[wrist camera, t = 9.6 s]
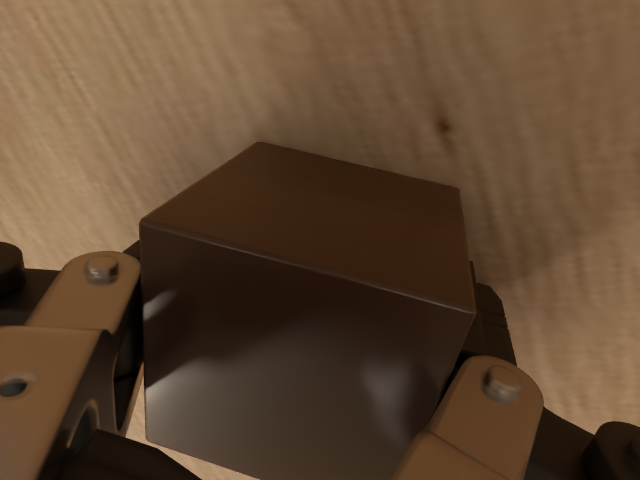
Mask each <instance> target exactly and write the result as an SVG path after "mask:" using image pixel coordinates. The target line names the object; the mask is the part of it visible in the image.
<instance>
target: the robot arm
mask: <svg viewBox="0 0 640 480" xmlns="http://www.w3.org/2000/svg"><path fill="white" fill-rule="evenodd" d="M469 262H470V269H471V276H472V283H473V290H474V297H475V305H476V315H475V317H474V320H473V322H472V325H471V327H470V329H469V332H468V334H467V337H466V339H465V342H464V344H463V346H462V349H461V351H460V354H459V356H458V358H457V361H456V363H455V366H454V368H453V370H452V373H451V375H450V378H449V380H448V383H447V385H446V387H445V390H444V392H443V395H442V397H441V399H440V402H439V404H438V407H437V409H436V411H435V413H434V414H433V416H432V418H431V420H430V421H429V423H428V425H427V426H426V428H425V427H424V426H423V427H422V428H421V429H420V430H419V432H418V433H417V435H416V437H415V438H414V440H413V442H412V443H411V445H410V447H409V448H408V450H407V452H406V453H405V455H404V457H403V459H402V460H401V462H400V464H399V465H398V467H397V469H396V470H395V472H394V474H393V475H392V477H391V479H390V480H640V427H638V426H635V425H632V424H629V423H625V422H617V421H612V422H607V423H604V424H603V425H601V426H600V427H599V429H598V430H597V432H596V433H595V435H593V434H591V433H589V432H587V431H585V430H583V429H582V428H580V427H578V426H576V425H574V424H572V423H570V422H568V421H566V420H564V419H562V418H561V417H559V416H557V415H555V414H554V413H552V412H551V411H549V410H548V409H546V408H545V407H544V406H543V405H544V399H543V395H542V393H541V390H540V389H539V387H538V385H537V384H536V383H535V382H534V380H533V379H532V378H531V377H530V376H529V375H527V374H526V373H525V372H524V371H523V370H521V369H520V368H518V367H517V363H516V359H515V355H514V351H513V347H512V342H511V338H510V334H509V330H508V329H507V327H508V326H507V321H506V317H504V316H505V313H504V309H503V304H502V300H501V299H500V298H499V297H498V296H497V294H496V293H495V292H494V291H493V289H492V288H491V287H490V286H487V285H484V284H480V283H476V279H475V273H474V266H473V262H472V261H470V260H469ZM143 375H144V365H143V334H142V302H141V270H140V240H138V241H137V242H135V243H134V244H133V245H131V246H130V247H129V248H127V249H126V250H124V251H123V252H122V253H121V252H115V251H99V252H92V253H87V254H84V255H81V256H78V257H76V258H74V259H72V260H70V261H69V262H68V263H67V264H66V265H65V266H64V267H63V268H62V270H61V271H57V270H42V269H28V268H25V267H24V262H23V256H22V252H21V250H20V249H19V248H18V247H16V246H15V245H12V244H9V243H5V242H0V480H202V479H200V478H199V477H198V476H196V475H195V474H193V473H192V472H190V471H189V470H188V469H186V468H185V467H183V466H182V465H180V464H179V463H178V462H176V461H175V460H173V459H172V458H170V457H169V456H167V455H166V454H165V453H163V452H162V451H160V450H159V449H157V448H154V447H152V446H149V445H146V444H143V443H140V442H137V441H134V440H131V439H128V438H125V437H126V434H127V430H128V427H129V423H130V420H131V416H132V413H133V410H134V406H135V403H136V399H137V396H138V392H139V389H140V385H141V382H142V379H143Z"/></svg>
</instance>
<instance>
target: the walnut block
mask: <svg viewBox="0 0 640 480" xmlns="http://www.w3.org/2000/svg"><path fill="white" fill-rule="evenodd" d="M139 238H140V270H141V302H142V334H143V365H144V397H145V429H146V440H147V441H149V442H151V443H154V444H157V445H160V446H163V447H166V448H169V449H172V450H175V451H177V452H180V453H183V454H186V455H189V456H192V457H195V458H198V459H201V460H204V461H207V462H210V463H213V464H216V465H219V466H222V467H225V468H228V469H231V470H234V471H236V472H239V473H242V474H245V475H248V476H251V477H254V478H257V479H260V480H390V479H391V477H392V475H393V474H394V472H395V470H396V469H397V467H398V465H399V464H400V462H401V460H402V459H403V457H404V455H405V453H406V452H407V450H408V448H409V447H410V445H411V443H412V442H413V440H414V438H415V437H416V435H417V433H418V432H419V430H420V429H421V428H422V427H423V426H424V427H425V428H426V426H427V425H428V423H429V421H430V420H431V418H432V416H433V414H434V413H435V411H436V409H437V407H438V404H439V402H440V399H441V397H442V395H443V392H444V390H445V387H446V385H447V383H448V380H449V378H450V375H451V373H452V370H453V368H454V366H455V363H456V361H457V358H458V356H459V354H460V351H461V349H462V346H463V344H464V342H465V339H466V337H467V334H468V332H469V329H470V327H471V325H472V322H473V320H474V317H475V315H476V305H475V297H474V290H473V283H472V276H471V269H470V262H469V255H468V248H467V241H466V233H465V226H464V219H463V212H462V205H461V198H460V191H459V190H458V189H457V188H453V187H449V186H445V185H440V184H436V183H432V182H428V181H423V180H419V179H415V178H411V177H406V176H402V175H398V174H393V173H389V172H385V171H381V170H376V169H372V168H368V167H364V166H359V165H355V164H351V163H347V162H342V161H338V160H334V159H330V158H325V157H321V156H317V155H312V154H308V153H304V152H300V151H295V150H291V149H287V148H283V147H278V146H274V145H270V144H266V143H261V142H256V143H255V144H253V145H252V146H250V147H249V148H247V149H246V150H244V151H243V152H241V153H240V154H238V155H237V156H235V157H234V158H232V159H231V160H229V161H228V162H226V163H225V164H223V165H222V166H220V167H219V168H217V169H216V170H214V171H213V172H211V173H210V174H208V175H206V176H205V177H203V178H202V179H200V180H199V181H197V182H196V183H194V184H193V185H191V186H190V187H188V188H187V189H185V190H184V191H182V192H181V193H179V194H178V195H176V196H175V197H173V198H172V199H170V200H169V201H167V202H166V203H164V204H163V205H161V206H160V207H158V208H157V209H155V210H154V211H152V212H151V213H149V214H148V215H146V216H145V217H143V218H142V219H141V220H140V223H139Z"/></svg>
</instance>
